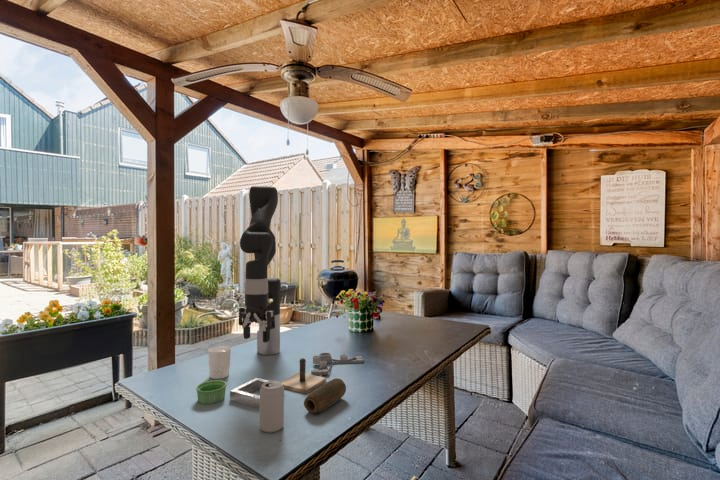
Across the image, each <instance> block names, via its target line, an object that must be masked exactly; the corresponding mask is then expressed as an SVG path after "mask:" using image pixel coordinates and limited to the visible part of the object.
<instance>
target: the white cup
mask: <svg viewBox="0 0 720 480" xmlns="http://www.w3.org/2000/svg"><path fill="white" fill-rule="evenodd" d="M207 351H208V353H207V354H208V367H209V377H210V379H214V380H220V379H224V378H227V377H229V375H230V369H231V367H230V365H231V355H232V354H231V353H232V348H231V346H228V345H219V346H218V345H217V346H213V347H210V348H208V350H207Z"/></svg>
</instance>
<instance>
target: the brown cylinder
mask: <svg viewBox="0 0 720 480" xmlns="http://www.w3.org/2000/svg"><path fill="white" fill-rule="evenodd" d="M346 391H347V386H346V383H345V382H344V380H343V379H341V378H333V379H331V380H329V381H326V382H325V383H323V384H321V385H320V386H318V387H317V388H315V389H314V390H312V391H311V393H308V395H307V396H306V398H304V401H303V406H304V408H305V409H306V411H308V412H309V413H311V414H316V413H317V414H319V413H321V412H323V411H324V410H326V409H328V408H329V407H331V406H332V405H334V404H335V403H336V402H338V401H339V400H341V399H342V398H343V397H344V396H345V394H346Z"/></svg>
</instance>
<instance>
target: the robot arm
mask: <svg viewBox="0 0 720 480" xmlns="http://www.w3.org/2000/svg"><path fill="white" fill-rule="evenodd" d="M248 191H249V192H248V197H249V207H250V215H251V218H250V222H249V226H248V227H247V228H246V229H245V230H244V231H243V233H242V234H241V237H240V239H239V247H240V249H241V250H242V252H243V253H245V254H253V256H254V257H253V260H249V261H247V262H246V263H245V284H244V306H243V307H239V308H238V325H239V326H241V327H242V329H243V330H242V331H243V332H242V334H243V339H244V340H247V339H250V338H251V325H252V323H255V324H258V330H257V331H256V352H257V353H258V354H260V355H263V356H270V355H272V356H273V355H276V354H279V353H280V352H281V292H282V291H281V287H282V286H281V285H282V283H281V280H280V279H279V277H268V266H269V265H270V263H271V262H272V261H273V259H274V257H275V255H276V253H277V252H276V251H277V247H276V246H277V244H276V242H277V241H276V236H275V234H274V233H273V231H272V230H271V222H272V218H273V216H274V215H275V212H276V211H277V207H278V205H279V204H278V202H279V192H278V190H277V187H276V186H272V185H271V186H270V185H252V186H251V187H250V188H249V190H248ZM270 299H272V301H271V302H270V303H269V300H270Z"/></svg>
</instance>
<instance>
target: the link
mask: <svg viewBox="0 0 720 480" xmlns="http://www.w3.org/2000/svg"><path fill="white" fill-rule="evenodd" d="M267 381H269V380H268V379H263V378H259V377H255V378H253V379H251V380H249V381H247V382H244V383H243V384H240V385H239V386H237V387H235V388H233V389H231V390H229V400H230V401H233V402H235V403H238V404H239V403H240V404H241V405H242V404H243V405H246V406H249V407H254V408H256V409H260V394H259V395H258V394H255V393H252V392H253V391H255V390H260V389H261V385H262V384H263V383H265V382H267ZM282 386H283V387H284V384H283V385H282Z"/></svg>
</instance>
